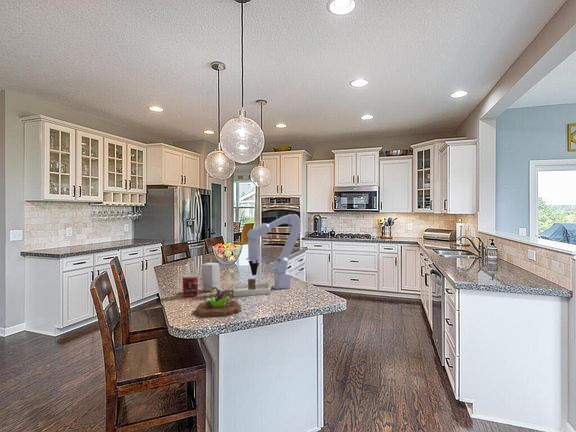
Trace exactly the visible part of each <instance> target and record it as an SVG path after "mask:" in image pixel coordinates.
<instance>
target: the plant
mask: <svg viewBox="0 0 576 432" xmlns="http://www.w3.org/2000/svg"><path fill="white" fill-rule="evenodd" d="M215 288H216V287H212V288H211V291H214V289H215ZM216 290H217V291H216V296H215V297H214V296H211V298H209V297H208V298H206V300H207V301H204V302H202V303H200V304H198V305H197V306H196V307H195V315H198V316H199V318H217V317H228V316H230V317H231V316H233V315H235V314H240V313H241V312H242V305H240V304H239V301H237V300H232V299H229V298H230V296H229V295H233V293H232V291H231V290H229V289H227V290H223V291H222V290H221V289H220V290H218V289H217V288H216ZM226 292H228V295H227V296H225V297H224V294H225V293H226Z"/></svg>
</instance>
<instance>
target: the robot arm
mask: <svg viewBox="0 0 576 432" xmlns="http://www.w3.org/2000/svg"><path fill="white" fill-rule="evenodd" d="M301 222H302V220H301V219H300V217H299V215H298V214H296V213H293V214H292V213H289V214H286V215H283V216H281V217H279V218H277V219H275V220H273V221H271V222H270V223H265V222H263V223H261V224H260V225H258V226H254V227H253V229H252V228H251V229H249V230H248V231H247V234H246V236H247V238H248V239H247V241H248V242H247V250H248V251H247V252H248V257H246V260H247V261H248V264H249V267H250V271H251V275H252V276H257V273H258V268H259V265H260V262H258V261H259V260H260V259H259V237H263V236H264V235H266V234H268V233H270V232H271V230H272V229H273V228H276V227H278V226H280V225H285V224H287V225H288V226H289V229H290V233H289V236H288V238H287V240H286V242H285V244H284V246H283V248H282V251H281V253H280V254H279V256H278V257H277V258H276V260H275V261H274V262H273V269H274V271H273V277H274V278H273V280H274V281H273V282H274V283H273V284H274V285H272V287H273V289H275V290H279V289H291V272H290V271H287V269H288V264H289V258H290V256H291V253H292V251H293V249H294V247H295V245H296V243H297V240H298V238H299V237H300V234H301V230H302V229H301V227H302V226H301Z"/></svg>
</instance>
